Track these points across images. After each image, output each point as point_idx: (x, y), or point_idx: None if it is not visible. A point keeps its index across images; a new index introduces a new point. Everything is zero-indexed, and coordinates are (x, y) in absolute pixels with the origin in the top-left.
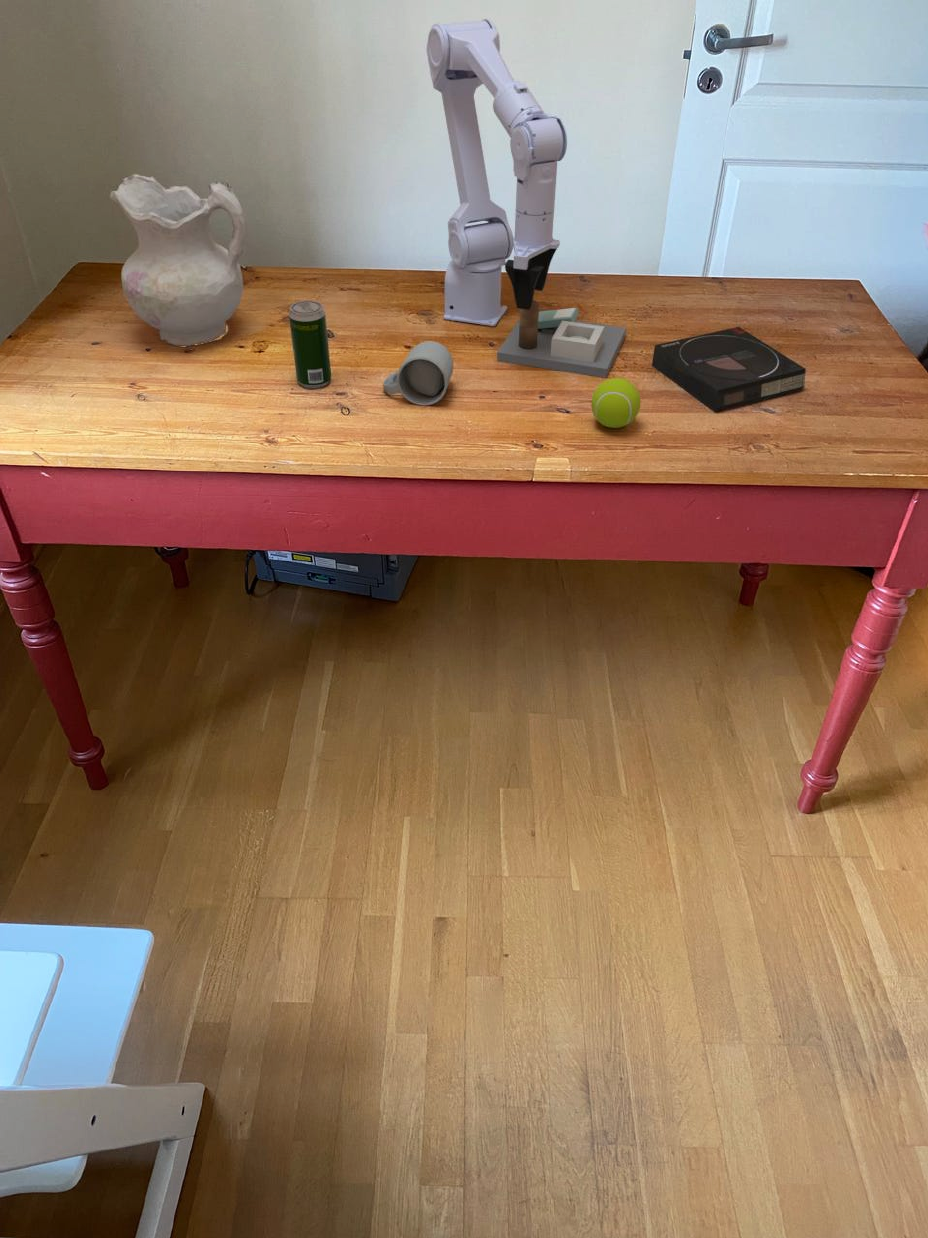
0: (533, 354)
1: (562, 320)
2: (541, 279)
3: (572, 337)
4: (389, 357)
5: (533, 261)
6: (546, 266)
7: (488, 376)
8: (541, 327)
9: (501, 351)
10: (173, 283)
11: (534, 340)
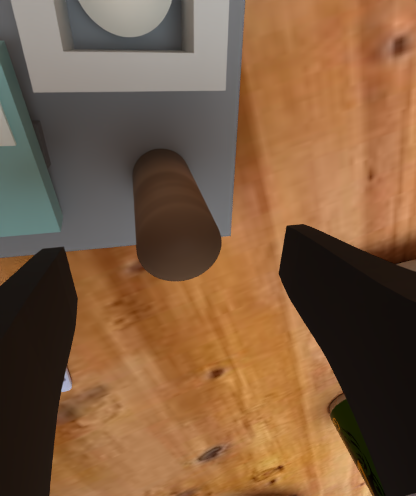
0: (214, 141)
1: (15, 95)
2: (51, 290)
3: (99, 13)
4: (261, 375)
5: (38, 426)
6: (16, 335)
7: (302, 213)
8: (47, 172)
9: (223, 228)
10: None
11: (179, 160)
